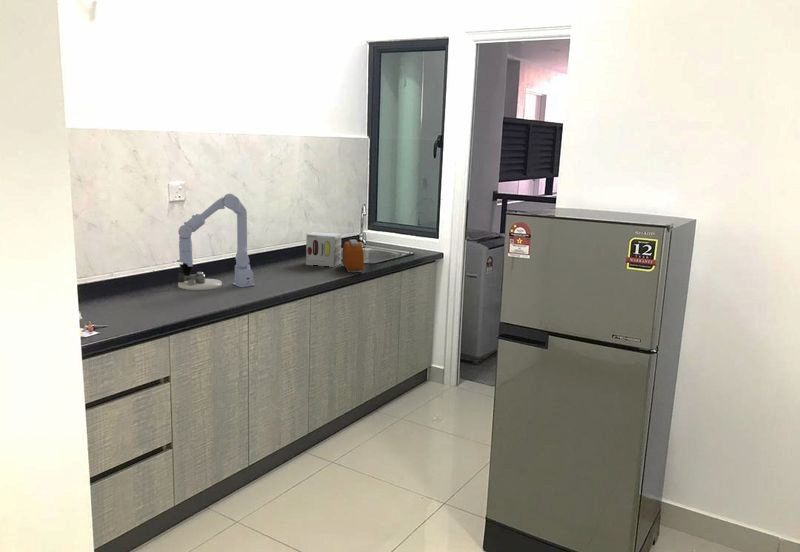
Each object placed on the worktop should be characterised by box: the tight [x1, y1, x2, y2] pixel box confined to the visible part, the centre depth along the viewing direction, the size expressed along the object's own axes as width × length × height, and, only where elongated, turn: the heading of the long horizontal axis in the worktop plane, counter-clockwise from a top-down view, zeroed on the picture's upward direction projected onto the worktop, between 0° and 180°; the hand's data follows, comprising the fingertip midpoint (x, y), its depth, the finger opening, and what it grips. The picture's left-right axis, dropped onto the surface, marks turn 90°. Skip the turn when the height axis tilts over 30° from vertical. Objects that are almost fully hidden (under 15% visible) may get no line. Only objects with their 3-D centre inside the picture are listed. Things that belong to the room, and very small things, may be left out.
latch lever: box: [178, 271, 206, 283], centre depth 306 cm, size 12×4×5 cm, turn 119°
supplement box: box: [305, 231, 342, 268], centre depth 372 cm, size 17×13×18 cm
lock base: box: [177, 278, 223, 291], centre depth 308 cm, size 20×20×4 cm
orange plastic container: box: [341, 239, 365, 273], centre depth 361 cm, size 23×9×17 cm, turn 12°
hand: (186, 278), depth 307 cm, fingers closed
